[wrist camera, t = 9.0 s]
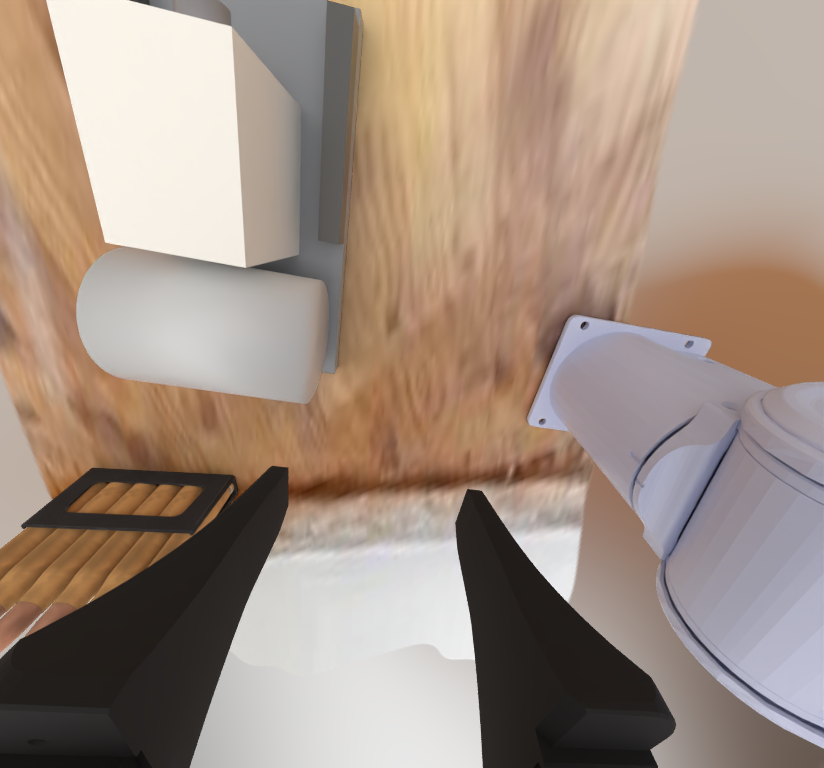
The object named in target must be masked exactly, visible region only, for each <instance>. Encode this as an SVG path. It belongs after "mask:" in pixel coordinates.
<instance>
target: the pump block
mask: <svg viewBox="0 0 824 768" xmlns="http://www.w3.org/2000/svg"><path fill="white" fill-rule="evenodd" d="M46 1H47V5H48V9H49V13H50V17H51V21H52V25H53V29H54V33H55V38H56V42H57V46H58V50H59V54H60V58H61V62H62V66H63V70H64V75H65V79H66V83H67V87H68V91H69V95H70V99H71V103H72V107H73V112H74V116H75V120H76V124H77V128H78V132H79V136H80V140H81V144H82V149H83V153H84V157H85V161H86V165H87V169H88V173H89V177H90V181H91V185H92V190H93V194H94V198H95V202H96V206H97V210H98V214H99V218H100V222H101V227H102V231H103V235H104V239H105V243H111V244H116V245H122V246H128V247H133V248H139V249H144V250H150V251H155V252H161V253H166V254H172V255H177V256H183V257H188V258H194V259H199V260H205V261H210V262H216V263H222V264H227V265H233V266H238V267H244V268H247V267H251V266H255V265H260V264H264V263H268V262H272V261H276V260H280V259H284V258H288V257H292V256H296V255H299V233H300V166H301V107H300V106H299V104H298V103H297V102H296V101H295V100H294V99H293V97H292V96H291V95H290V94H289V93H288V92H287V90H286V89H285V88H284V87H283V86H282V85H281V83H280V82H279V81H278V80H277V79H276V78H275V76H274V75H273V74H272V73H271V72H270V71H269V69H268V68H267V67H266V66H265V65H264V64H263V62H262V61H261V60H260V59H259V58H258V57H257V55H256V54H255V53H254V52H253V51H252V50H251V48H250V47H249V46H248V45H247V44H246V43H245V41H244V40H243V39H242V38H241V37H240V36H239V35H238V33H237V32H236V31H235V30H234V29H233V28H232V21H231V12H230V11H229V9H228V8H227V7H226V6H225V5H224V4H223V3H222V2H220V1H219V0H172V2H173V11H174V12H172V11H168V10H165V9H161V8H157V7H153V6H149V5H145V4H141V3H137V2H133V1H129V0H46Z"/></svg>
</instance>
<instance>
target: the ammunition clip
mask: <svg viewBox="0 0 824 768" xmlns="http://www.w3.org/2000/svg"><path fill="white" fill-rule="evenodd" d="M237 494H238V491H237V486H236V482H235V477H233V475H221V474H201V473H182V472H162V471H143V470H123V469H104V468H92V469H90V470H89V471H88V472H87V473H85V474H84V475H83V476H82V477H80V478H79V479H78V480H77V481H75V482H74V483H73V484H72V485H70V486H69V487H68V488H67V489H65V490H64V491H63V492H62V493H60V494H59V495H58V496H57V497H56V498H54V499H53V500H52V501H51V502H49V503H48V504H47V505H46V506H44V507H43V508H42V509H41V510H39V511H38V512H37V513H36V514H34V515H33V516H32V517H31V518H29V519H28V520H27V521H26V522H25V523H23V524H22V525H21V527H22V528H23V529H25V528H26V527H27V528H26V529H25V530H23V531H22V532H21V533H20V534H18V535H17V536H16V537H15V538H13V539H12V540H11V541H10V542H8V543H7V544H6V545H5V546H4V547H2V548H1V549H0V617H1V616H2V615H3V614H4V613H5V612H7V611H8V610H9V609H10V608H11V607H12V606H13V605H14V604H16V605H15V606H14V607H13V608H12V609H11V610H10V611H9V612H8V613H6V615H4V616H3V617H2V619H0V652H1V651H2V650H4V649H5V648H6V647H7V646H8V645H9V644H11V643H12V642H13V641H14V640H15V639H16V638H17V637H18V636H19V635H20V634H21V633H22V632H24V631H25V630H26V628H28V627H29V625H31V624H32V622H33V621H34V620H35V619H36V618H37V617H38V616H39V615H40V614H41V613H43V612H44V611H45V610H46V609H47V608H48V607H49V606H50V605H51V604H52V603H53V604H52V606H51V607H50V608H49V609H48V610H47V611H46V612H45V614H43V616H42V617H41V618H40V619H39V620H38V621H37V622H36V623H35V625H34V626H33V627H32V628H31V629H30V631H29V632H28V633H27V634H26V636H28V635H30V634H32V633H34V632H36V631H38V630H40V629H41V628H43V627H45V626H47V625H49V624H51V623H53V622H55V621H57V620H58V619H60V618H62V617H64V616H66V615H68V614H70V613H72V612H74V611H75V610H77V609H79V608H81V607H83V606H85V605H86V604H87V603H88V602H89V601H90V600H91V598H93V597H94V598H93V599H92V600H91V601H90V602H92V601H93V600H95V599H97V598H98V597H100V596H102V595H103V594H105V593H107V592H108V591H110V590H112V589H114V588H115V587H117V586H119V585H120V584H122V583H124V582H125V581H127V580H129V579H130V578H132V577H133V576H135V575H137V574H138V573H140V572H141V571H143V570H144V569H146V568H148V567H149V566H151V565H152V564H153V563H155V562H156V561H158V560H159V559H161V558H162V557H164V556H165V555H167V554H168V553H170V552H171V551H173V550H174V549H175V548H177V547H178V546H180V545H181V544H182V543H184V542H185V541H186V540H188V539H189V538H190V537H192V536H193V535H194V534H196V533H197V532H198V531H200V530H201V529H202V528H203V527H205V526H206V525H207V524H208V523H209V522H211V521H212V520H213V519H214V518H215V517H217V516H218V515H219V514H220V513H222V512H223V511H224V510H225V509H226V508H227V507H228V506H229V505H230V504H231V502H232V501H233V499H234V498H235V497H236V495H237ZM26 636H25V637H26Z"/></svg>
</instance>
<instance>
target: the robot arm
mask: <svg viewBox="0 0 824 768" xmlns="http://www.w3.org/2000/svg"><path fill="white" fill-rule="evenodd" d="M583 322H586V325H585V326H584V327H583V328H580V326H581V324H582V323H583ZM686 342H688V343H687V345H685V344H686ZM710 347H711V341H710V340H708V339H706V338H702V337H697V336H691V335H686V334H680V333H675V332H669V331H664V330H658V329H653V328H648V327H642V326H637V325H631V324H626V323H620V322H615V321H609V320H604V319H598V318H593V317H587V316H582V315H573V316H571V317H570V318H568V320H567V322H566V324H565V326H564V329H563V331H562V334H561V336H560V339H559V341H558V343H557V346H556V348H555V351H554V353H553V356H552V358H551V360H550V363H549V365H548V368H547V370H546V373H545V375H544V377H543V380H542V382H541V385H540V387H539V390H538V392H537V395H536V397H535V399H534V402H533V404H532V407H531V409H530V412H529V414H528V416H527V422H528V423H529V424H530V425H531V426H534V427H541V428H548V429H555V430H562V431H570V433H571V434H572V435H573V436H574V437H575V439H576V440H577V441H578V442H579V444H580V445H581V446H582V447H583V449H584V450H585V451H586V452H587V454H588V455H589V456H590V457H591V458H592V460H593V461H594V462H595V463H596V465H597V466H598V467H599V468H600V470H601V471H602V472H603V473H604V474H605V476H606V477H607V478H608V479H609V481H610V482H611V483H612V484H613V486H614V487H615V488H616V489H617V491H619V493H620V494H621V495H622V497H623V498H624V499H625V500H626V502H627V503H628V504H629V505H630V507H631V508H632V509H633V510H634V512H635V513H636V514H637V515H638V516H639V518H640V519H641V520H642V522H643V523H644V527H645V530H644V534H643V537H644V539H645V540H646V541H647V542H648V544H649V545H650V546H651V547H652V549H653V550H654V551H655V553H656V554H657V555H658V556H659V558H660V559H661V560H662V561H661V563H660V565H659V567H658V570H657V574H656V589H657V593H658V597H659V601H660V603H661V606H662V609H663V611H664V613H665V615H666V617H667V619H668V620H669V622H670V624H671V626H672V628H673V629H674V630H675V632H676V634H677V635H678V636H679V638H680V639H681V640H682V642H683V643H684V645H685V646H686V647H687V648H688V650H689V651H690V652H691V653H692V654H693V655H694V657H695V658H696V659H697V660H698V661H699V662H700V663H701V664H702V665H703V666H704V667H705V668H706V669H707V670H708V671H709V672H710V673H711V674H712V675H713V676H714V677H715V678H716V679H717V680H718V681H719V682H720V683H721V684H722V685H724V686H725V687H726V688H727V689H728V690H729V691H731V692H732V693H733V694H734V695H735V696H736V697H738V698H739V699H741V700H742V701H743V702H745V703H746V704H747V705H749V706H750V707H751V708H753V709H754V710H755V711H757V712H758V713H760V714H761V715H763V716H764V717H766V718H768V719H769V720H771V721H772V722H774V723H776V724H777V725H779V726H780V727H782V728H784V729H786V730H788V731H790V732H792V733H794V734H796V735H798V736H800V737H802V738H804V739H806V740H808V741H810V742H812V743H814V744H816V745H818V746H820V747H822V748H824V382H807V383H798V384H794V385H789V386H786V387H778V388H777V387H775V386H772V385H770V384H768V383H765V382H763V381H761V380H758V379H756V378H754V377H751V376H749V375H747V374H744V373H742V372H740V371H737V370H735V369H732V368H730V367H728V366H726V365H723V364H721V363H719V362H716V361H714V360H712V359H709V358H707V357H705V355H706V353H707V352H708V350H709V349H710ZM541 419H544V420H543V421H541V422H539V420H541ZM287 508H288V468H286V467H277V466H271V467H270V468H269V469H268V470H267V471H266V472H265V473H264V474H263V475H262V476H261V477H260V478H259V479H258V480H257V481H256V482H255V483H254V484H252V485H251V486H250V487H249V488H248V489H247V490H246V491H245V492H244V493H243V494H242V495H241V496H240V497H238V498H237V499H236V500H235V501H234V502H233V503H232V504H231V505H230V506H228V507H227V508H226V509H225V510H224V511H223V512H222V513H220V514H219V515H218V516H217V517H215V518H214V519H213V520H212V521H211V522H209V523H208V524H207V525H206V526H205V527H203V528H202V529H201V530H200V531H198V532H197V533H196V534H194V535H193V536H192V537H190V538H189V539H188V540H186V541H185V542H184V543H182V544H181V545H180V546H178V547H177V548H175V549H174V550H173V551H171V552H170V553H168V554H167V555H165V556H164V557H162V558H161V559H159V560H158V561H156V562H155V563H153V564H152V565H151V566H149V567H148V568H146V569H144V570H143V571H141V572H140V573H138V574H137V575H135V576H133V577H132V578H130V579H129V580H127V581H125V582H124V583H122V584H120V585H119V586H117V587H115V588H114V589H112V590H110V591H108V592H107V593H105V594H103V595H102V596H100V597H98V598H97V599H95V600H93V601H92V602H90V603H88V604H86V605H85V606H83V607H81V608H79V609H77V610H75V611H74V612H72V613H70V614H68V615H66V616H64V617H62V618H60V619H58V620H57V621H55V622H53V623H51V624H49V625H47V626H45V627H43V628H41V629H40V630H38V631H36V632H34V633H32V634H30V635H28V636H26V637H24V638H22V639H20V640H19V641H18V642H17V643H16V644H15V645H14V646H13V647H12V648H11V649H10V650H9V651H8V652H7V653H6V654H5V655H4V656H3V657H2V658H1V659H0V768H189V767H190V764H191V761H192V758H193V755H194V751H195V749H196V746H197V742H198V739H199V736H200V733H201V730H202V727H203V724H204V721H205V718H206V715H207V712H208V709H209V706H210V703H211V700H212V697H213V694H214V691H215V688H216V686H217V683H218V680H219V677H220V674H221V671H222V668H223V665H224V663H225V660H226V657H227V654H228V651H229V649H230V646H231V643H232V640H233V637H234V635H235V632H236V629H237V627H238V624H239V621H240V619H241V616H242V613H243V611H244V608H245V605H246V603H247V601H248V598H249V596H250V594H251V591H252V589H253V587H254V585H255V583H256V581H257V579H258V576H259V574H260V572H261V570H262V568H263V566H264V564H265V562H266V559H267V557H268V555H269V553H270V551H271V549H272V547H273V544H274V542H275V540H276V538H277V536H278V534H279V531H280V529H281V526H282V523H283V520H284V517H285V514H286V511H287ZM455 524H456V538H457V549H458V555H459V560H460V565H461V570H462V576H463V581H464V586H465V591H466V596H467V601H468V606H469V612H470V618H471V624H472V634H473V643H474V652H475V663H476V673H477V683H478V697H479V710H480V724H481V740H482V759H483V768H658V765H657V763H656V761H655V759H654V757H653V755H652V753H651V751H650V749H652V748H653V747H655V746H656V745H658V744H659V743H661V742H662V741H663V740H665V739H667V738H668V737H669V736H670V735H671V734H673V732H674V730H675V727H676V723H675V719H674V718H673V716H672V714H671V712H670V710H669V708H668V707H667V705H666V703H665V701H664V699H663V698H662V696H661V694H660V692H659V690H658V689H657V687H656V685H655V683H654V682H653V680H652V678H651V677H650V676H649V675H648V674H646V673H645V672H644V671H643V670H642V669H640V668H639V667H638V666H637V665H635V664H634V663H633V662H632V661H631V660H629V659H628V658H627V657H626V656H625V655H623V654H622V653H621V652H620V651H619V650H617V649H616V648H615V647H614V646H613V645H612V644H610V643H609V642H608V641H607V640H606V639H605V638H604V637H603V636H602V635H601V634H599V633H598V632H597V631H596V630H595V629H594V628H593V627H592V626H591V625H590V624H589V623H588V622H586V621H585V620H584V619H583V618H582V617H581V616H580V615H579V614H578V613H577V612H576V611H575V610H574V609H573V608H572V607H571V606H570V605H569V604H568V603H567V602H566V601H565V600H564V599H563V597H562V596H561V595H560V594H559V593H558V592H557V591H556V590H555V589H554V588H553V587H552V586H551V584H550V583H549V582H548V581H547V580H546V579H545V578H544V576H543V575H542V574H541V573H540V572H539V571H538V569H537V568H536V567H535V566H534V565H533V563H532V562H531V561H530V560H529V558H528V557H527V556H526V554H525V553H524V552H523V551H522V549H521V548H520V547H519V545H518V544H517V542H516V541H515V540H514V538H513V537H512V535H511V534H510V533H509V531H508V530H507V528H506V527H505V525H504V524H503V522H502V521H501V519H500V518H499V516H498V515H497V513H496V512H495V510H494V509H493V507H492V506H491V504H490V503H489V501H488V500H487V498H486V496H485V495H484V493H483V492H482V491H479V490H470V489H467V492H466V494H465V497H464V500H463V503H462V506H461V509H460V512H459V514H458V517H457V520H456V523H455Z"/></svg>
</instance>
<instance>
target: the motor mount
mask: <svg viewBox="0 0 824 768" xmlns="http://www.w3.org/2000/svg"><path fill="white" fill-rule="evenodd" d="M129 1H133V2H137V3H141V4H145V5H149V6H153V7H157V8H161V9H165V10H168V11H172V12H174V11H173V2H172V0H129ZM219 1H220V2H222V3H223V4H224V5H225V6H226V7H227V8H228V9H229V11H230V12H231V21H232V28H233V29H234V30H235V31H236V32H237V33H238V35H239V36H240V37H241V38H242V39H243V40H244V41H245V43H246V44H247V45H248V46H249V47H250V48H251V50H252V51H253V52H254V53H255V54H256V55H257V57H258V58H259V59H260V60H261V61H262V62H263V64H264V65H265V66H266V67H267V68H268V69H269V71H270V72H271V73H272V74H273V75H274V76H275V78H276V79H277V80H278V81H279V82H280V83H281V85H282V86H283V87H284V88H285V89H286V90H287V92H288V93H289V94H290V95H291V96H292V97H293V99H294V100H295V101H296V102H297V103H298V104H299V106H300V107H301V166H300V233H299V255H296V256H292V257H288V258H284V259H280V260H276V261H272V262H268V263H264V264H260V265H255V266H251V267H247V268H244V267H238V266H233V265H227V264H222V263H216V262H210V261H205V260H199V259H194V258H188V257H183V256H177V255H172V254H166V253H161V252H155V251H150V250H144V249H139V248H133V247H119V248H116V249H113V250H110V251H108V252H107V253H105V254H103V255H102V256H101V257H99V258H98V259H97V260H96V261H95V262H94V263H93V264H92V265H91V267H90V268H89V270H88V271H87V273H86V274H85V276H84V278H83V281H82V283H81V286H80V289H79V293H78V298H77V305H76V317H77V325H78V330H79V334H80V337H81V340H82V342H83V345H84V347H85V349H86V350H87V352H88V354H89V355H90V357H91V358H92V359H93V361H94V362H95V363H96V364H97V365H98V366H99V367H100V368H102V369H103V370H104V371H106V372H107V373H109V374H111V375H113V376H115V377H118V378H122V379H128V380H135V381H142V382H149V383H157V384H164V385H171V386H178V387H185V388H193V389H200V390H207V391H214V392H221V393H229V394H236V395H243V396H250V397H257V398H264V399H272V400H279V401H286V402H293V403H300V404H307V403H309V402H310V400H311V399H312V398H313V396H314V394H315V392H316V389H317V387H318V384H319V381H320V378H321V374H322V372H325V373H332V374H335V372H336V369H337V367H338V354H339V341H340V328H341V315H342V301H343V288H344V275H345V262H346V248H347V235H348V222H349V209H350V195H351V182H352V169H353V156H354V143H355V129H356V116H357V103H358V90H359V76H360V63H361V50H362V37H363V20H362V15H361V10H360V9H358V8H354V7H350V6H346V5H343V4H339V3H335V2H331V1H328V0H219Z"/></svg>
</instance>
